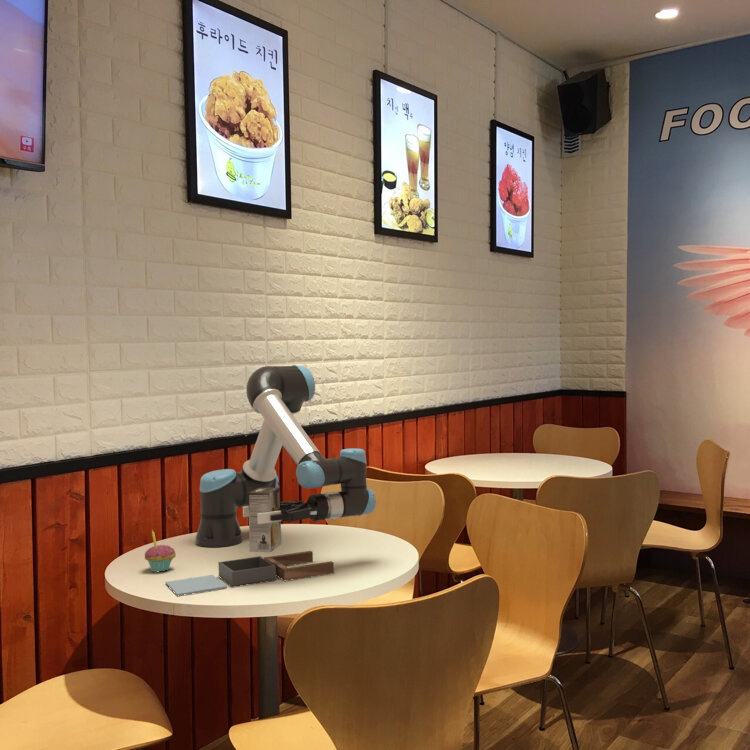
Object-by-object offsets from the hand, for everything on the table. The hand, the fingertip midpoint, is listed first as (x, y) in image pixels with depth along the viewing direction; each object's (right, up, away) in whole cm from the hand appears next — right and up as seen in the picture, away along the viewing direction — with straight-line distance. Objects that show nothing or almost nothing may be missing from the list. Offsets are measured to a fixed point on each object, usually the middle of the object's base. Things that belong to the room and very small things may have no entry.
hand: (250, 515), depth 214 cm
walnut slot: (+12, -17, +10) cm, 24 cm away
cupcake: (-28, -18, +13) cm, 36 cm away
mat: (-14, -18, -4) cm, 23 cm away
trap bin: (-1, -18, +3) cm, 18 cm away
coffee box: (+4, -10, +2) cm, 11 cm away
